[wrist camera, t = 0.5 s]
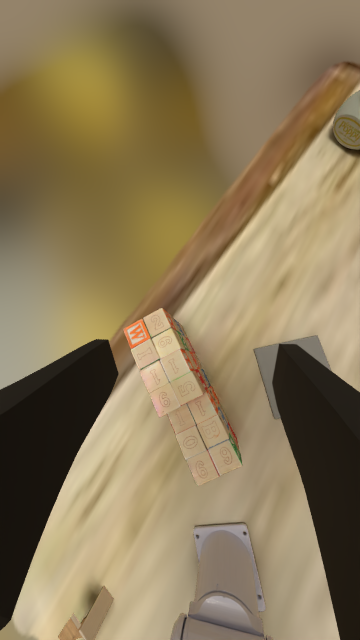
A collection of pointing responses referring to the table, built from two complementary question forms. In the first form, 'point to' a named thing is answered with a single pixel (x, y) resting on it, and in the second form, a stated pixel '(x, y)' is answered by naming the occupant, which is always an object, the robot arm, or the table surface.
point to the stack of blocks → (183, 395)
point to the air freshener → (348, 122)
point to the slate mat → (268, 360)
